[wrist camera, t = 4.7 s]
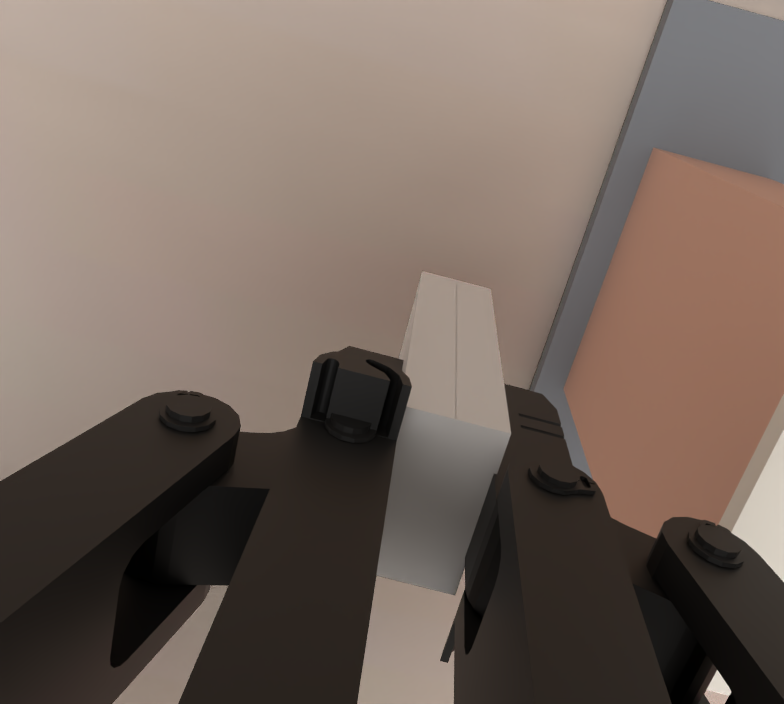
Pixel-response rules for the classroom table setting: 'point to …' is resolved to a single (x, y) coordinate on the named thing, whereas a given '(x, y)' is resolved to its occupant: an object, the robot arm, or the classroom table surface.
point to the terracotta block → (690, 358)
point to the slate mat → (674, 149)
